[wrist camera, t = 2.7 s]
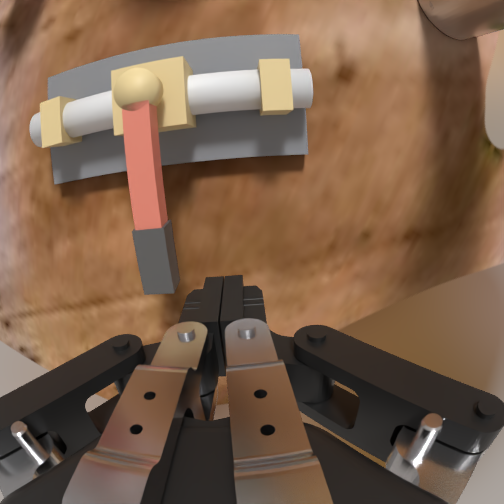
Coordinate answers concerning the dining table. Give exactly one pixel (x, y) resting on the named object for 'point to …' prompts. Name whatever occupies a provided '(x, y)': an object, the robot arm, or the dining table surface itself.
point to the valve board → (210, 124)
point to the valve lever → (147, 180)
